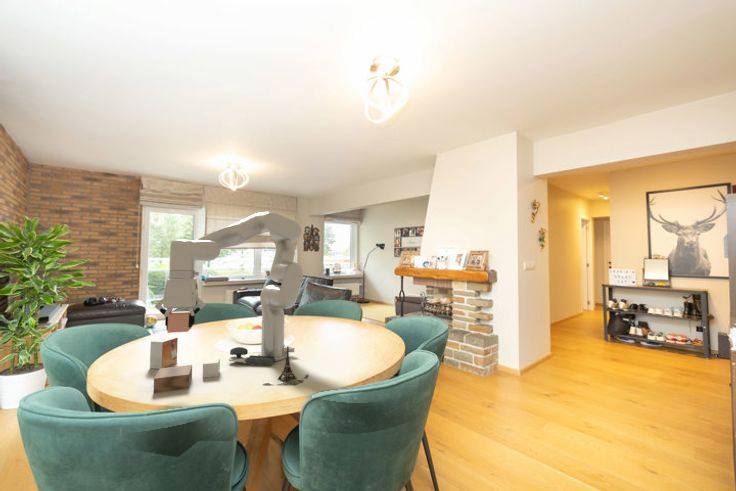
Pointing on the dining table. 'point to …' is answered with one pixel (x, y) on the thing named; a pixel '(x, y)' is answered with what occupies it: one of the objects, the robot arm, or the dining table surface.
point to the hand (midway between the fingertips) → (180, 326)
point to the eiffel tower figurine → (288, 374)
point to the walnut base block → (173, 378)
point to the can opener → (250, 357)
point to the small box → (163, 352)
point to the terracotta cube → (178, 321)
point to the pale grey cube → (211, 367)
